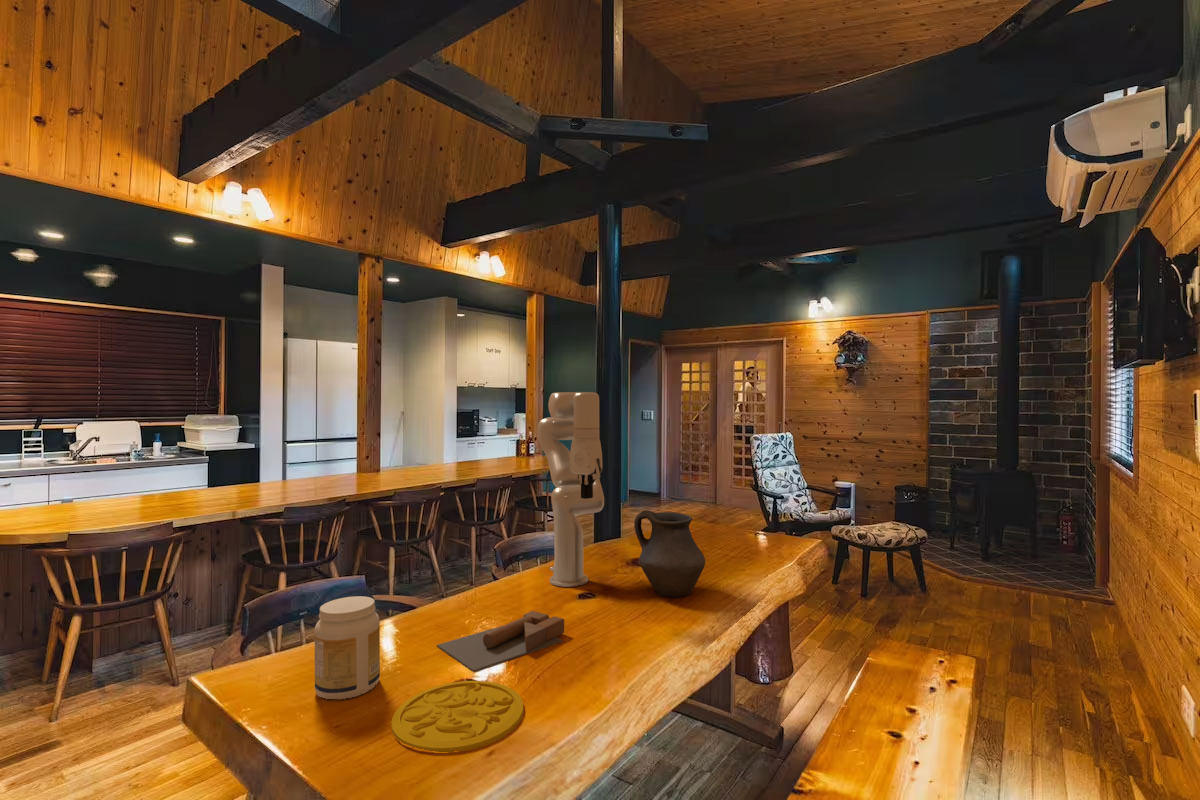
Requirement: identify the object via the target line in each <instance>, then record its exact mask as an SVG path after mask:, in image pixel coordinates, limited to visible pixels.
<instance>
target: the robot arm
mask: <svg viewBox="0 0 1200 800" xmlns="http://www.w3.org/2000/svg"><path fill="white" fill-rule="evenodd" d="M548 412H549V414H550V416H549V417H545V418H542V419H541V420H540V421H539V422H538V425H537V438H538V442H539V445H540V447H541V449H542V451H543V453H544V454H545V457H546V458H547V464H548V468H549V473H550V479H551V482H552V484H553V485H554V487H555V488H554V489H553V490H552V492H551V495H550V497H551V499H550V500H551V508H552V515H553V533H554V534H553V535H554V537H553V539H554V541H553V543H554V545H553V546H554V550H553V551H554V559H553V560H554V562H553V566H550V568H549V570H550V571H551V572H552V573H553V574H552V576H551V577H550V578H549V583H550V584H551V585H553V586H557V587H562V588H563V587H564V588H571V587H579V585H580V586H583V585H585V584H587V583H588V582H589V577H588V575H586V574H584V529H583V528H584V527H583V525H582V523H581V522H580V520H578V518H577V516H576V515H580V514H595V513H600V512H601V511H602V510H603V509H604V506H605V496H604V491H603V488H602V484H601V481H600V479H601V473H602V472H603V451H602V445H601V440H600V396H599V394H598V393H597V392H591V391H589V392H588V391H587V392H586V391H584V392H583V391H581V392H580V391H576V392H575V391H574V392H572V391H571V392H567V391H565V392H563V391H562V392H560V391H559V392H552V393H551V394H550V396H549V399H548ZM560 441H571V445H570V450H569V448H567V446H565V444H564V443H562V442H560Z"/></svg>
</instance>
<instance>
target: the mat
mask: <svg viewBox="0 0 1200 800" xmlns="http://www.w3.org/2000/svg"><path fill="white" fill-rule="evenodd" d="M502 626H503V625H500V626H497V627H495V628H491V629H486V630H483V631H479V632H475V633H473V634H469V635H466V636H463V637H460V638H455V639H453V640H449V641H446V642H442V643H439V644H436V647H437V648H438V647H439V648H438V649H440V650H441V651H442V652H444V653H445V652H446V653H445V654H447V655H448V656H450V657H452V658H453V659H454V660H456V661H457V662H458V663H460V664H461V665H463V666H464V667H465V668H467V669H468V670H470V671H472V673H475V672H478V671H480V670H484V669H487V668H489V667H493V666H495V665H498V664H502V663H505V662H507V661H510V660H513V659H515V658H516V659H517V658H519V657H522V656H525V655H528V654H531V653H534V652H537V651H540V650H542V649H545V648H549V647H552V646H554V645H555V646H556V645H557V644H560V643H563V639H561V638H559V637H558V636H557V637H555V638H553V639H551V640H549V641H546V642H545V643H543V644H542V645H540V646H538V647H536V648H534V649H532V650H530V651H528V652H526V647H525V639H524V633H523V634H521V635H519V636H517V637H514V638H512V639H510V640H508V641H506V642H504V643H502V644H499V645H497V646H495V647H493V648H491V649H489V648H486V647H485V645H484V643H483V636H484V635H485V634H486V633H488V632H490V631H492V630H495V629H497V628H499V627H502Z"/></svg>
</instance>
